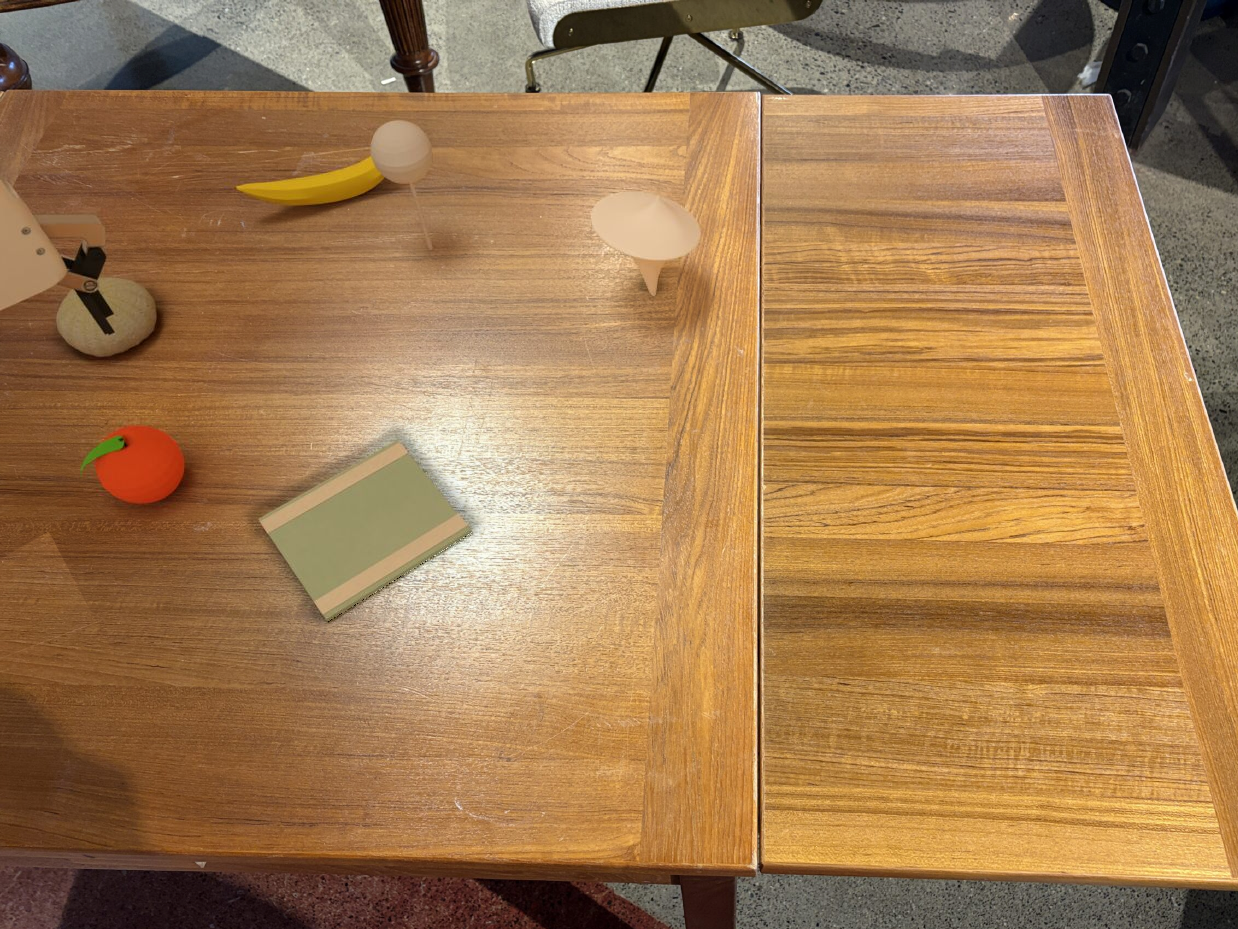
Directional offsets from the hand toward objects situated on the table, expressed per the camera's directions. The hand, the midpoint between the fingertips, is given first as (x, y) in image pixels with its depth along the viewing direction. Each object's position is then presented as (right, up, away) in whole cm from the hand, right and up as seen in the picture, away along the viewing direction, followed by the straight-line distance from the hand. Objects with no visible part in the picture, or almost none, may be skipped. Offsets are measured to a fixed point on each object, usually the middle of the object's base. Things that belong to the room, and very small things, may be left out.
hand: (42, 353), depth 77 cm
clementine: (+1, -10, +14) cm, 18 cm away
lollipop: (+21, +17, +32) cm, 42 cm away
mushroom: (+45, +10, +27) cm, 54 cm away
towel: (+21, -13, +11) cm, 27 cm away
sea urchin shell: (-9, +7, +26) cm, 28 cm away
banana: (+9, +23, +37) cm, 45 cm away
